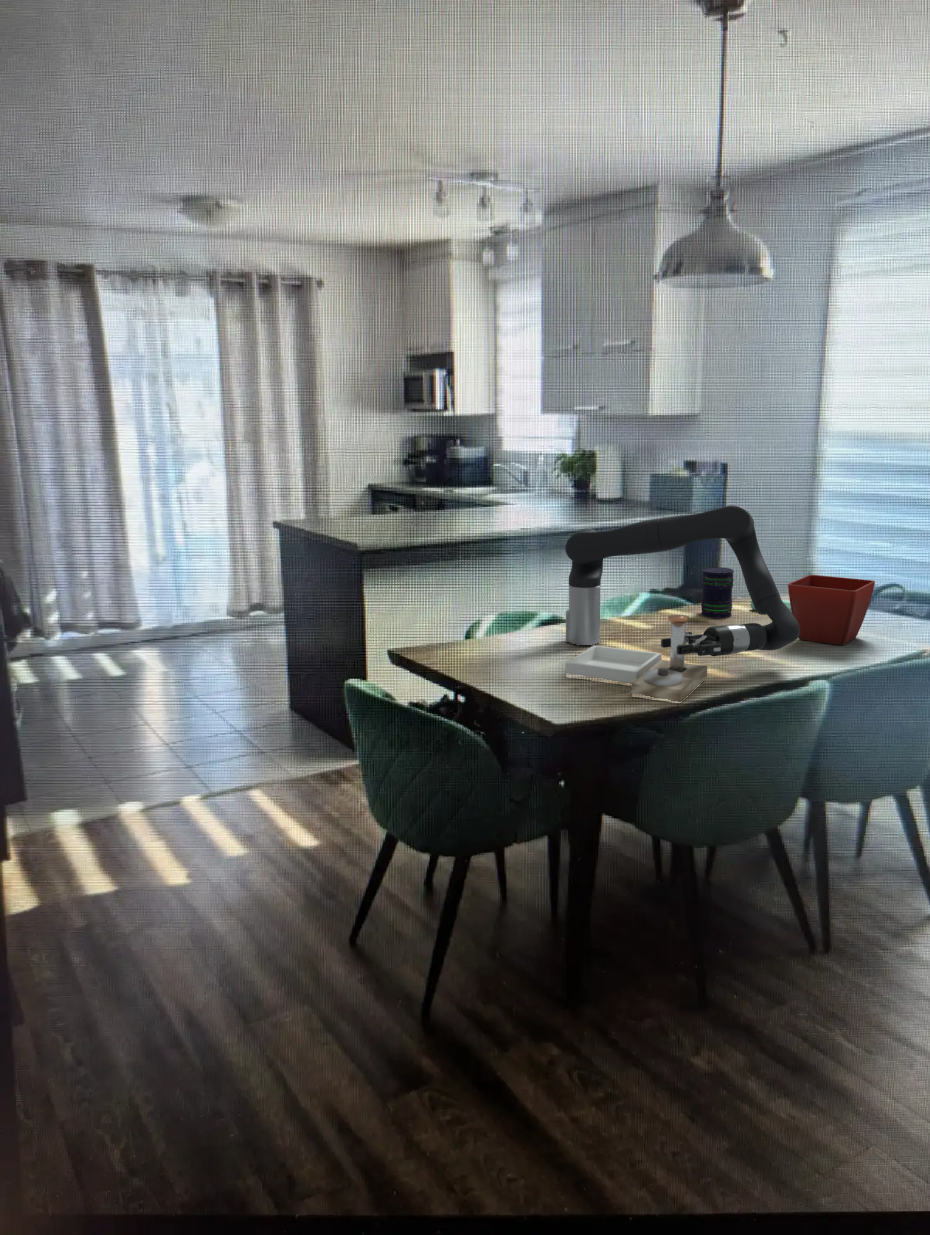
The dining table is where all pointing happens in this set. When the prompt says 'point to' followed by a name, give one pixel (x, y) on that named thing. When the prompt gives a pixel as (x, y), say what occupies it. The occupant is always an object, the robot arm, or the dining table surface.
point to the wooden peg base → (669, 681)
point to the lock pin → (677, 641)
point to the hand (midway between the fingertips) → (669, 646)
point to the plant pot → (830, 607)
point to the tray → (612, 663)
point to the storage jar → (717, 592)
